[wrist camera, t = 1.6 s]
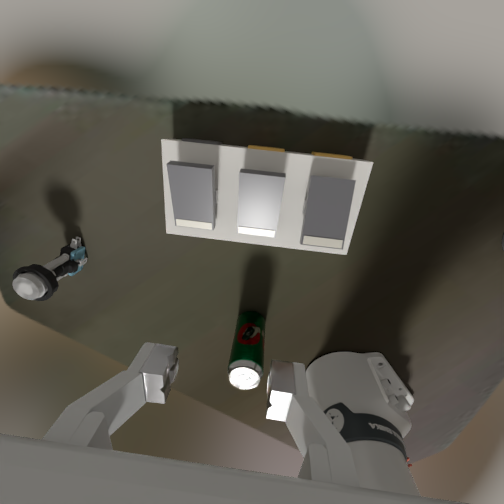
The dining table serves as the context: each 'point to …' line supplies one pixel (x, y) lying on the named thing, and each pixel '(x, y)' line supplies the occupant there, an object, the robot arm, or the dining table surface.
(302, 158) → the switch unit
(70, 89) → the dining table surface
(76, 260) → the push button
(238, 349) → the soda can
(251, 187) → the middle rocker
